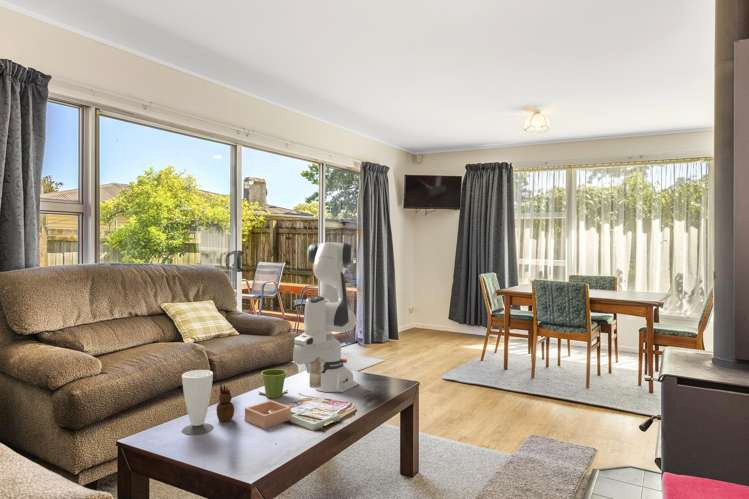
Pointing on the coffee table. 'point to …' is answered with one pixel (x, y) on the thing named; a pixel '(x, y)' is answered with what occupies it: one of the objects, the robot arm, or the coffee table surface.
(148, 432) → the coffee table surface
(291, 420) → the sage tray
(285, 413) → the frame
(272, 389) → the plant pot
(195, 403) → the cup
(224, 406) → the wooden figurine
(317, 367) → the beech peg
